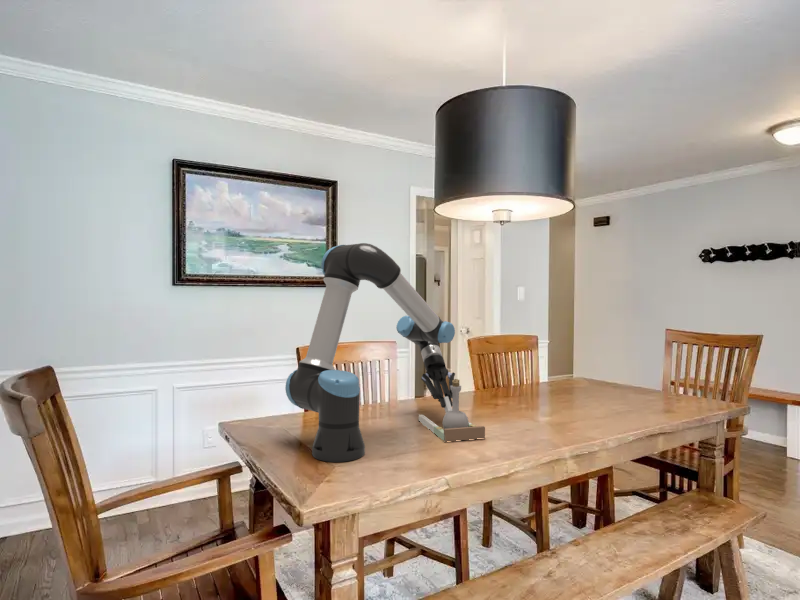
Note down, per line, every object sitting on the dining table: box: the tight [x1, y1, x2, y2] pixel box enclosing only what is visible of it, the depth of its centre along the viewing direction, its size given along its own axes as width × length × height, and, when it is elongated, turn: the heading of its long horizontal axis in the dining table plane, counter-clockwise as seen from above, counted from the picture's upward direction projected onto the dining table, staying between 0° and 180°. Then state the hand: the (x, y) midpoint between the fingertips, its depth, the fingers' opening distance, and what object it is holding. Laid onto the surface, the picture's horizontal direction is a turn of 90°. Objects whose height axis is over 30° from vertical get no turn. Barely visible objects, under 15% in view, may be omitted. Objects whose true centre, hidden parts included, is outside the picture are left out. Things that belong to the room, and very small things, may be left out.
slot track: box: [418, 414, 486, 443], centre depth 165 cm, size 26×14×4 cm, turn 16°
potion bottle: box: [441, 378, 469, 430], centre depth 161 cm, size 9×9×18 cm
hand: (449, 414), depth 166 cm, fingers closed
